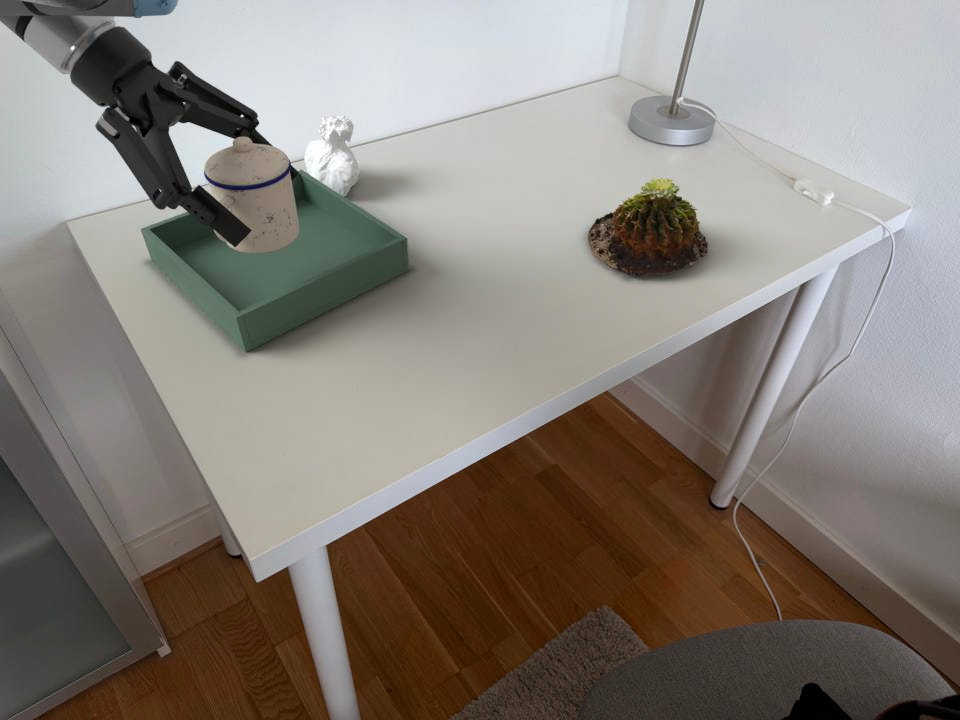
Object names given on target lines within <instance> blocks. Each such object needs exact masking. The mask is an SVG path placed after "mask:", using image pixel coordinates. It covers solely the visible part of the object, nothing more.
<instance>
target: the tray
mask: <svg viewBox="0 0 960 720" xmlns="http://www.w3.org/2000/svg"><path fill="white" fill-rule="evenodd" d="M297 171H298V172H299V174H298V175H297V176H296V177H295V178H294V179H293V180H292V186H293V192H294V198H295V203H296V209H297V215H298V221H299V226H300V231H299V234H298V236H297V238H296V239H295V240H294V241H293V242H292V243H291V244H289V245H288V246H286V247H284V248H282V249H280V250H277V251H273V252H269V253H263V254H249V253H243V252H239V251H236V250H234V249H232V248H231V247H229V246H228V245H227V244H226V242H224V241H222V240H221V239H219V238H218V237H217V235H216V234H215V232H214V229H213V228H211V227H210V226H209V225H208V226H205V225H203V224H201V223H200V222H199V221H198V220H197V219H195V218H194V217H193V216H192V215H191V214H190V213H188V212H187V211H185V212H183V213H180V214H177V215H174V216H171V217H169V218H167V219H164V220H161V221H158V222H156V223H153V224H149V225H147V226H144V227H142V228H140V232H141V235H142V238H143V241H144V243H145V246H146V249H147V251H148V254H149V257H150V259H151V260H150V261H151V263H153V264H154V266H156V267H157V268H158V269H159V270H160V271H161V272H162V273H163V274H164V275H165V276H166V277H167V278H168V279H170V281H171V282H172V283H173V284H174V285H175V286H177V287H178V288H179V289H180V291H182V292H183V293H184V294H185V296H187V297H188V299H190V300H191V301H192V302H193V303H194V304H195V305H196V306H197V307H198V308H199V309H201V311H203V313H204V314H206V315H207V317H209V318H210V319H211V321H213V322H214V323H215V324H216V325H217V326H218V327H219V328H220V329H221V330H222V331H223V332H224V333H225V334H226V335H227V336H228V337H229V338H230V339H231V340H233V341H234V343H235V344H237V346H239V347H240V348H241V349H242V350H243V352H245V353H247V352H250V351H252V350H254V349H255V348H257V347H259V346H261V345H263V344H265V343H268V342H269V341H271V340H274V339H276V338H277V337H279V336H281V335H283V334H285V333H287V332H289V331H291V330H294V329H295V328H298V327H299V326H301V325H304V324H305V323H307V322H309V321H311V320H313V319H315V318H317V317H319V316H322V315H323V314H325V313H327V312H329V311H331V310H333V309H336V308H338V307H339V306H341V305H343V304H346V303H347V302H349V301H352V300H353V299H355V298H357V297H358V296H361V295H363V294H365V293H367V292H368V291H371V290H373V289H375V288H377V287H378V286H381V285H383V284H385V283H388V282H389V281H392V280H393V279H395V278H397V277H398V276H400V275H403V274H404V273H406V272H408V271H410V269H409V267H410V266H409V250H408V249H409V246H408V237H407V236H406V235H403V234H402V233H400V232H399V231H397V230H396V229H394V228H393V227H391V226H390V225H388V224H387V223H385V222H384V221H382V220H380V219H379V218H377V216H374V215H373V214H371V213H370V212H368V211H366V210H365V209H363V208H362V207H360V206H359V205H357V204H356V203H354V202H353V201H351V200H349V199H348V198H347V197H346V196H344V197H343V196H342V195H340V194H339V193H337V192H335V191H334V190H332V189H331V188H329V187H328V186H326V185H325V184H323V183H322V182H320V181H318V180H317V179H315V178H314V177H312V176H311V175H310V174H309V173H308V172H307V171H305V170H304V169H300V170H297Z"/></svg>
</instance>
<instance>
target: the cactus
mask: <svg viewBox="0 0 960 720" xmlns="http://www.w3.org/2000/svg"><path fill="white" fill-rule="evenodd" d="M644 183H645V184H644V186H641V187H640V190H641V191H640V193H636V194H635V195H634V196H633V197H627V199H625V200H622V204H618V205H617V206H618V207H617V208H615V210H614V212H609V213H605V214H604V216H602V217H599V218H596V219H595V221H594V223H593V224H592V226H591V227H590V228H589V230H588V232H587V242H588V245H589V247H590V250H591V252H592V253H593V254H594V255H595V256H596V258H598V259H599V260H601V261H602V262H603V263H605V264H606V265H608V266H610V267H611V268H614V269H616V270H617V271H623V272H626V274H627V276H631V275H634V276H635V277H644V276H649V275H651V276H652V275H664V274H670V273H674V272H677V271H680V270H683V269H684V268H685V267H686V266H687V267H688V266H689V267H691V266H693V265H694V264H696V263H697V262H699V261H700V260H702V258H704V257H705V256H706V255H707V254H708V252H709V251H708V250H709V249H708V247H709V246H708V245H709V242H708V241H707V238H706V236H704V234H702V233H701V231H700V224H701V221H699V220H698V217H697V212H696V211H698V210H699V208H695V206H693V204H692V203H690V201H688V199H683V197H682V196H677V193H678V192H679V191H680V190H681V188H680V185H676V184H675V183H673V179H669V178H668V177H666V178H665V179H664V178H663V177H660V178H651V179H650V182H644Z"/></svg>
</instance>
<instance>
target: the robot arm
mask: <svg viewBox="0 0 960 720" xmlns="http://www.w3.org/2000/svg"><path fill="white" fill-rule="evenodd" d="M178 3H179V0H0V23H1V24H3V25H4V26H5V27H6V28H8V30H10V31H11V32H13V33H14V35H16V36H17V37H18V38H19V39H20V40H22V42H24V43H25V44H27V45H28V46H29V47H30V48H31V49H32V50H33V51H35V52H36V53H37V54H38V55H39V56H41V57H42V58H43V59H44V60H45V61H47V63H49V65H51V66H52V67H53V68H54V69H56V71H58V72H59V73H60V74H62V75H69V78H70V82H71V84H72V85H73V86H75V87H76V89H78V90H79V91H80V92H82V93H83V94H84V95H85V96H86V97H87V98H88V99H90V100H91V102H93V103H94V104H95V105H96V106H98V107H100V108H105V109H104V111H103V112H102V113H101V115H100V117H98V120H97V122H95V126H94V127H95V129H96V131H98V133H100V134H101V135H102V136H103V137H104V138H105V139H106V140H107V141H109V143H110V144H112V145H113V147H114V148H115V150H116V151H117V153H118V154H119V155H120V157H121V158H122V160H123V161H124V163H125V164H126V166H127V167H128V169H129V170H130V172H131V173H132V175H133V176H134V178H135V179H136V181H137V182H138V184H139V186H140V187H141V188H142V190H143V191H144V193H145V194H146V195H147V197H148V198H149V200H150V201H151V203H152V205H153V206H154V207H155V208H157V209H158V210H161V211H162V210H163V211H164V210H165V209H166V208H168V209H170V210H177V209H178V207H181V208H182V209H183V210H185V212H188V213H190V214H191V215H192V216H193V217H194V218H195V219H197V220H198V221H199V222H200V223H201V224H203V225H205V226H208V225H209V226H210V227H211V228H213V229H214V230H215V231H216V232H217V233H218V234H220V235H221V236H222V237H223V238H224V239H226V240H227V241H228V242H229V243H230V244H231V245H233V246H234V247H236V246H237V245H238V244H239V243H240V242H241V241H242V240H243V239H244V238H245V237H246V236H248V235H249V233H250V232H251V231H252V230H251V229H250V228H248V227H247V226H246V225H245V224H244V223H243V222H242V221H240V220H239V219H238V218H237V217H236V216H235V215H234V214H232V213H231V212H230V211H229V210H228V209H227V208H225V207H224V206H223V205H222V204H221V203H220V202H219V201H217V200H216V199H215V198H214V197H213V196H212V193H210V192H208V191H207V190H206V189H205V188H204V187H203V186H202V185H201V184H198V185H197V186H196V187H195V188H194V189H193V187H192V184H191V181H190V180H189V177H188V175H187V173H186V171H185V169H184V165H183V164H182V161H181V159H180V156H179V154H178V152H177V150H176V148H175V145H174V143H173V140H172V138H171V136H170V128H171V127H175V125H176V124H178V123H180V124H187V123H190V124H193V125H194V126H198V127H201V128H203V129H205V130H209V131H211V132H214V133H217V134H220V135H222V136H224V137H228V138H230V139H233V140H234V139H236V138H238V137H248V138H250V139H251V140H252V143H254V144H264V145H270V146H273V147H275V146H274V145H273V144H272V143H270V142H269V141H268V140H267V139H266V137H264V136H263V135H262V134H261V133H260V132H259V131H258V130H257V127H258V126H259V125H260V121H259V119H258V117H259V115H258V113H257V112H256V110H254V109H253V108H250V107H249V106H247V105H246V104H244V103H243V102H241V101H239V100H238V99H236V98H234V97H232V96H231V95H229V94H228V93H226V92H224V91H223V90H221V89H219V88H218V87H216V86H214V85H213V84H211V83H210V82H207V81H206V80H205V79H202V78H201V77H199V76H197V75H196V74H195V73H194V72H193V71H192V70H191V69H189V68H188V67H187V66H186V65H185V64H184V63H182V62H181V61H179V60H175V61H174V62H173V63H172V65H171V66H170V68H169V69H168V71H167V72H164V71H162V70H161V69H159V68H157V67H156V66H155V65H154V62H153V61H152V59H153V54H152V52H151V51H150V50H149V49H148V48H147V47H146V46H145V45H144V43H142V42H141V41H140V40H139V39H138V38H136V36H134V35H133V33H131V32H130V31H129V30H128V29H127V28H126V27H124V26H121V25H120V26H119V25H117V24H116V23H117V22H116V19H115V17H116V18H119V17H123V18H128V17H129V18H134V19H141V18H142V17H158V16H159V17H160V16H167V15H170V14H171V13H173V12H174V11H175V9H176V8H177V6H178ZM298 171H299V170H297V169H296V168H295V167H294V166H293V165H292V164H291V169H290V175H291V180H293V179H294V178H295V177H296V176H297V175H298V174H299V172H298Z"/></svg>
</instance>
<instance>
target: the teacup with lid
mask: <svg viewBox="0 0 960 720" xmlns="http://www.w3.org/2000/svg"><path fill="white" fill-rule="evenodd" d="M273 146H274V145H273ZM273 146H270V145H264V144H254V143H252V140H251V139H250V138H248V137H238V138H236V139H233V141H232V145H231V146H228V147H226V148H223V149H221V150H220V149H219V150H218V151H216V152H214V154H212V155H211V156H210V157H208V159H207V160H206V162H205V164H204V168H203V175H204V178H205V180H206V181H207V182H208V185H209V189H210V192H211V193H210V194H211V195H212V196H213V197H214V198H215V199H216V200H217V201H219V202H220V203H221V204H222V205H223V206H224V207H225V208H227V209H228V210H229V211H230V212H231V213H232V214H234V215H235V216H236V217H237V218H238V219H239V220H240V221H242V222H243V223H244V224H245V225H246V226H247V227H248V228H250V229H251V230H252V231H251V232H250V233H249V235H248V236H246V237H245V238H244V239H243V240H242V241H241V242H240V243H239V244H238V245H237V246H236V247H234V246H233V245H231V244H230V243H229V242H228V241H227V240H226V239H224V238H223V237H222V236H221V235H220V234H218V233H217V232H216V231H215V230H214V232H215V234H216V235H217V237H218V238H219V239H221V240H222V241H224V242H226V244H227V245H228V246H229V247H231V248H232V249H234V250H236V251H239V252H243V253H249V254H263V253H269V252H273V251H277V250H280V249H282V248H284V247H286V246H288V245H289V244H291V243H292V242H293V241H294V240H295V239H296V238H297V236H298V234H299V231H300V226H299V221H298V215H297V209H296V203H295V198H294V192H293V186H292V180H291V175H290V169H291V165H292V162H291V160H290V158H289V156H288V155H287V154H286V153H285V152H284V151H283V150H282V149H280V148H278V147H276V146H274V147H273Z"/></svg>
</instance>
